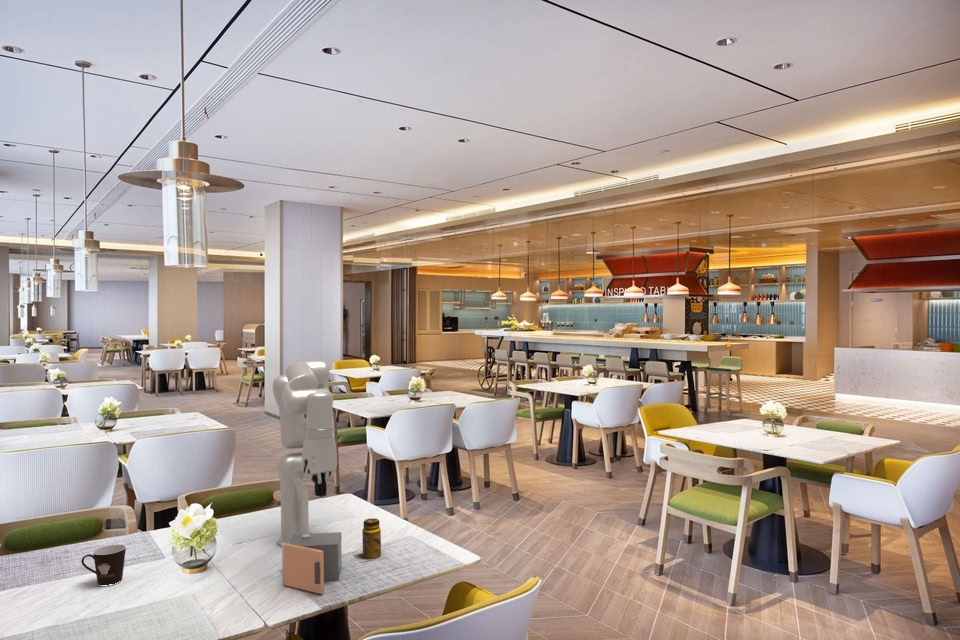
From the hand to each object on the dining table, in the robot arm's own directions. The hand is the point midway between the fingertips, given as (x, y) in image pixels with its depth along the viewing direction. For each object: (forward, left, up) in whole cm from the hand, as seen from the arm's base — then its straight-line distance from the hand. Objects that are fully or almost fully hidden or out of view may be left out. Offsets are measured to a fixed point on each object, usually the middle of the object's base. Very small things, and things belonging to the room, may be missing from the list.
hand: (320, 495), depth 183 cm
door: (+2, -6, -27) cm, 27 cm away
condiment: (-22, +13, -27) cm, 37 cm away
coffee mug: (-15, -66, -27) cm, 73 cm away
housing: (-9, -3, -27) cm, 29 cm away
